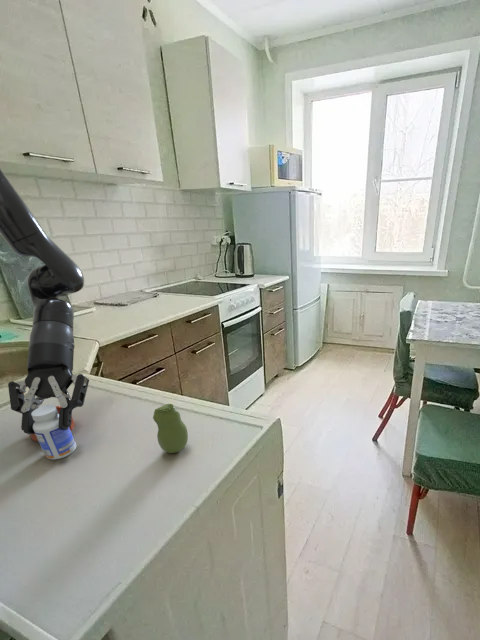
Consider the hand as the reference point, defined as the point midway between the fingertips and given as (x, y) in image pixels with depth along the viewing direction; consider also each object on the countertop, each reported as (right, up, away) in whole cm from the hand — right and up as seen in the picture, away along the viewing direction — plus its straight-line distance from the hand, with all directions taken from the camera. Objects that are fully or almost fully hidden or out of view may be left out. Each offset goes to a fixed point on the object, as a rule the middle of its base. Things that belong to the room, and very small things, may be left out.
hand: (46, 430), depth 66 cm
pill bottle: (0, -5, +4) cm, 7 cm away
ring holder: (-7, -2, +12) cm, 14 cm away
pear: (+23, -4, +3) cm, 24 cm away
